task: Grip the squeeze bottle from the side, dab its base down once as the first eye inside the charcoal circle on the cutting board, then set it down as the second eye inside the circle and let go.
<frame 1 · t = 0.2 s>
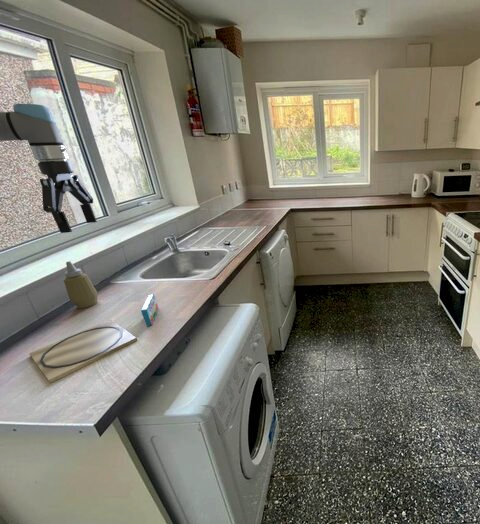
hand: (80, 227, 97), 31 cm above the worktop, tool pointing down, fingers open, 13 cm apart
squeeze bottle: (88, 305, 111), on the worktop
printed carton box: (153, 317, 101), on the worktop
cutting board: (85, 347, 86), on the worktop
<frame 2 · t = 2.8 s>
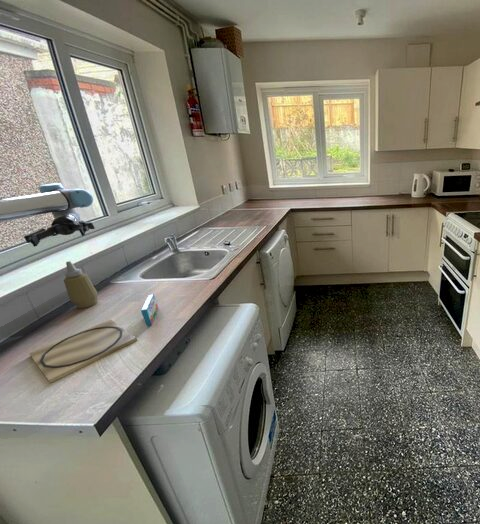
hand: (58, 237, 106), 26 cm above the worktop, tool horizontal, fingers open, 13 cm apart
nothing on the worktop moved.
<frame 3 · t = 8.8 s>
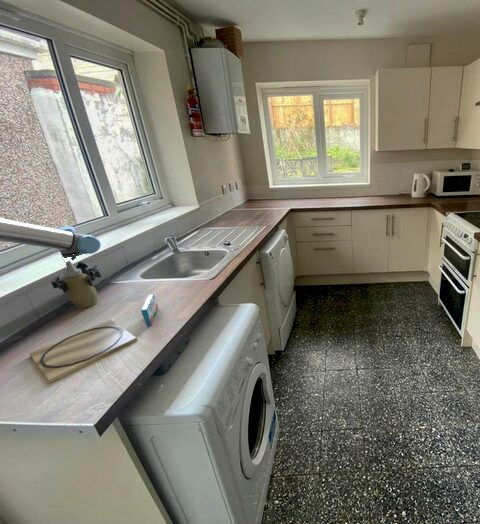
hand: (77, 285, 104), 10 cm above the worktop, tool horizontal, fingers closed on squeeze bottle, 6 cm apart
squeeze bottle: (88, 305, 111), on the worktop, touching gripper
everything else where it was.
when the fingers open (11 cm above the worktop, at t = 23.8 s): squeeze bottle stays where it is, resting on cutting board.
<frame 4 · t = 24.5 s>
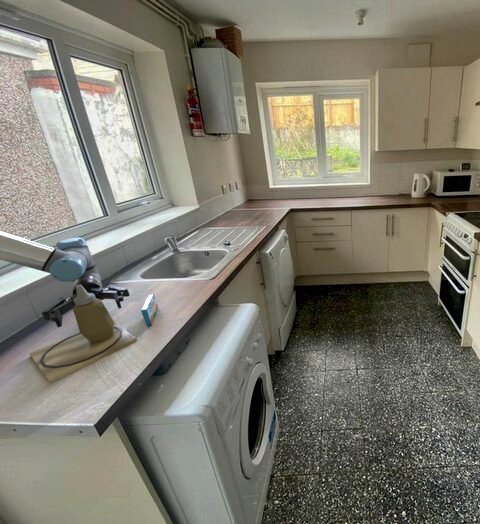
hand: (89, 313, 83), 11 cm above the worktop, tool horizontal, fingers open, 13 cm apart
squeeze bottle: (102, 337, 89), point 1 cm above the worktop, touching cutting board
everything else where it was.
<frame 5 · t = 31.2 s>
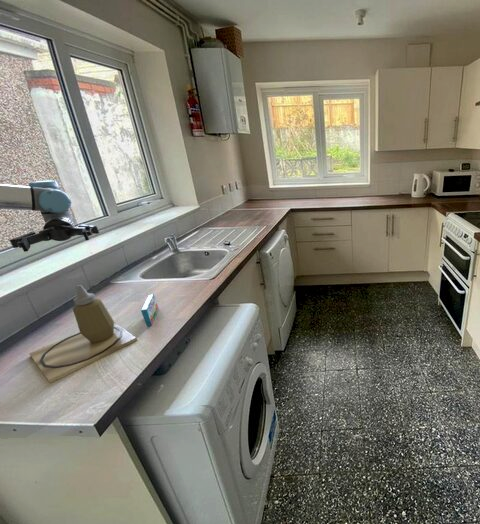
hand: (56, 241, 86), 30 cm above the worktop, tool horizontal, fingers open, 13 cm apart
nothing on the worktop moved.
at the end: squeeze bottle 0.0 cm from the target spot on the cutting board, point 0.8 cm above the cutting board's base; squeeze bottle tilted 0°; the gripper is holding nothing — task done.
